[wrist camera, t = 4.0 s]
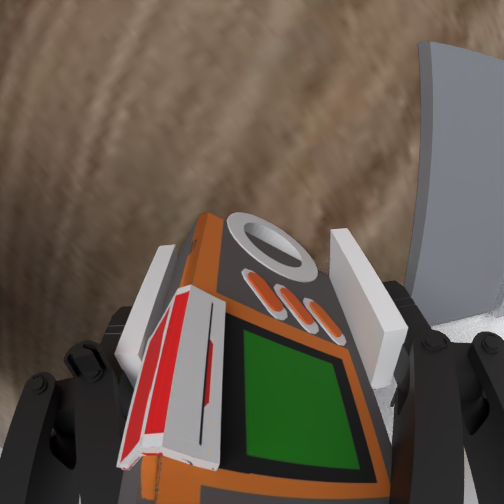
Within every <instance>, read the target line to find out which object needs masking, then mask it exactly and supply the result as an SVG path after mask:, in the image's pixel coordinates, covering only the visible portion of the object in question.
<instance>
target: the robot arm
mask: <svg viewBox="0 0 504 504" xmlns="http://www.w3.org/2000/svg"><path fill="white" fill-rule="evenodd" d="M177 259H178V254H177V250H176V245H165V246H159V247H158V250H157V252H156V254H155V256H154V259H153V261H152V263H151V265H150V268H149V270H148V272H147V274H146V277H145V279H144V281H143V284H142V286H141V288H140V291H139V293H138V295H137V298H136V300H135V303H134V305H133V306H129V307H121V308H120V309H119V310H118V311H117V312H116V313H115V314H114V315H113V316H112V319H111V321H110V323H109V327H107V330H106V332H105V335H104V336H103V339H102V341H101V343H100V345H99V344H97V343H96V342H92V341H85V342H81V343H78V344H76V345H75V346H73V347H72V348H70V349H69V351H68V352H67V353H66V354H65V357H64V362H65V364H66V365H67V367H68V369H69V370H70V372H71V373H72V375H73V376H74V378H70V379H65V380H60V381H56V380H55V378H54V377H53V376H52V375H51V374H50V373H46V372H42V373H38V374H36V375H34V376H32V377H31V378H30V379H29V380H28V381H27V383H26V384H25V386H24V389H23V391H22V394H21V396H20V399H19V402H18V405H17V407H16V410H15V413H14V416H13V419H12V422H11V425H10V428H9V431H8V434H7V437H6V440H5V443H4V447H3V450H2V454H1V457H0V504H79V495H80V497H81V504H118V500H119V494H120V488H121V483H122V477H123V472H124V470H122V469H121V468H119V467H116V466H117V461H118V456H119V452H120V447H121V443H122V438H123V434H124V429H125V425H126V421H127V417H128V413H129V409H130V405H131V401H132V397H133V393H134V389H135V385H136V381H137V378H138V374H139V370H140V366H141V363H142V359H143V356H144V352H145V349H146V345H147V342H148V339H149V338H150V336H151V335H152V334H153V332H154V330H155V328H156V327H157V325H158V321H159V318H160V314H161V311H162V308H163V304H164V301H165V298H166V294H167V291H168V288H169V284H170V281H171V278H172V275H173V272H174V268H175V265H176V262H177ZM329 278H330V280H331V283H332V285H333V287H334V290H335V292H336V295H337V297H338V300H339V302H340V305H341V307H342V310H343V312H344V315H345V317H346V320H347V323H348V325H349V328H350V330H351V333H352V336H353V338H354V341H355V344H356V346H357V349H358V352H359V354H360V357H361V360H362V363H363V365H364V368H365V371H366V374H367V376H368V379H369V382H370V385H371V387H372V389H373V390H374V389H379V388H384V387H388V386H390V385H391V382H392V379H393V376H394V377H395V380H396V382H397V385H398V386H397V388H396V391H395V394H394V396H393V399H392V401H391V405H390V407H393V406H394V422H393V436H392V466H391V484H390V498H389V504H463V502H464V448H465V451H466V455H467V458H468V462H469V465H470V469H471V473H472V477H473V481H474V485H475V489H476V493H477V498H478V503H479V504H504V340H503V339H502V338H501V337H500V336H498V335H497V334H495V333H492V332H481V333H478V334H477V335H476V336H475V337H474V339H473V341H472V343H454V342H451V341H450V339H449V338H448V337H447V336H446V335H445V334H443V333H441V332H439V331H436V330H432V329H431V327H430V326H429V324H428V322H427V321H426V319H425V318H424V316H423V314H422V313H421V311H420V310H419V308H418V307H417V305H415V302H414V301H413V299H412V298H411V296H410V295H409V293H408V292H407V290H406V289H405V287H403V286H402V285H401V284H399V283H398V282H396V281H388V282H381V280H380V279H379V277H378V275H377V274H376V272H375V271H374V269H373V267H372V266H371V264H370V263H369V261H368V260H367V258H366V256H365V255H364V253H363V252H362V250H361V249H360V247H359V245H358V244H357V242H356V241H355V239H354V238H353V236H352V235H351V233H350V232H349V230H348V229H347V228H343V229H332V230H331V240H330V272H329ZM394 403H395V404H394ZM52 429H53V430H52ZM51 432H52V433H51Z"/></svg>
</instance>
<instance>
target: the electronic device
mask: <svg viewBox="0 0 504 504" xmlns="http://www.w3.org/2000/svg"><path fill="white" fill-rule="evenodd" d="M391 466H392V446H391V443H390V440H389V437H388V434H387V431H386V428H385V425H384V422H383V419H382V416H381V413H380V410H379V407H378V404H377V401H376V398H375V395H374V392H373V389H372V387H371V385H370V382H369V379H368V376H367V374H366V371H365V368H364V365H363V363H362V360H361V357H360V354H359V352H358V349H357V346H356V344H355V341H354V338H353V336H352V333H351V330H350V328H349V325H348V323H347V320H346V317H345V315H344V312H343V310H342V307H341V305H340V302H339V300H338V297H337V295H336V292H335V290H334V287H333V285H332V283H331V280H330V278H329V276H328V275H326V274H325V273H323V272H321V271H319V270H317V267H316V265H315V263H314V261H313V259H312V258H311V256H310V255H309V254H308V253H307V252H306V250H305V249H304V248H303V247H302V246H301V245H300V244H299V243H298V242H297V241H295V240H294V239H293V238H292V237H291V236H289V235H288V234H287V233H285V232H284V231H282V230H281V229H280V228H278V227H276V226H275V225H273V224H271V223H270V222H268V221H266V220H264V219H261V218H259V217H257V216H254V215H251V214H247V213H239V212H236V213H233V214H231V215H230V216H229V217H228V219H227V220H226V221H224V220H223V219H221V218H219V217H217V216H215V215H213V214H211V213H209V212H207V213H204V214H201V215H199V217H198V219H197V221H196V222H195V224H194V226H193V228H192V230H191V231H190V233H189V235H188V237H187V239H186V240H185V242H184V244H183V246H182V248H181V250H180V253H179V256H178V259H177V262H176V265H175V268H174V272H173V275H172V278H171V281H170V284H169V288H168V291H167V294H166V298H165V301H164V304H163V308H162V311H161V314H160V318H159V321H158V325H157V327H156V328H155V330H154V332H153V334H152V335H151V336H150V338H149V339H148V342H147V345H146V349H145V352H144V356H143V359H142V363H141V366H140V370H139V374H138V378H137V381H136V385H135V389H134V393H133V397H132V401H131V405H130V409H129V413H128V417H127V421H126V425H125V429H124V434H123V438H122V443H121V447H120V452H119V456H118V461H117V466H116V467H119V468H121V469H122V470H124V472H123V477H122V483H121V488H120V494H119V500H118V504H389V498H390V484H391Z"/></svg>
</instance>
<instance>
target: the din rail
mask: <svg viewBox="0 0 504 504" xmlns="http://www.w3.org/2000/svg"><path fill="white" fill-rule="evenodd" d="M491 312H492V313H493V314H494V316H495V317H496V318H498V317H501V316H504V276H503V279H502V282H501V285H500V288H499V291H498V294H497V297H496V299H495V302H494V305H493V307H492V310H491Z"/></svg>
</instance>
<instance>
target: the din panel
mask: <svg viewBox="0 0 504 504" xmlns="http://www.w3.org/2000/svg"><path fill="white" fill-rule="evenodd" d="M418 49H419V63H420V86H421V137H420V160H419V176H418V188H417V199H416V208H415V217H414V225H413V233H412V240H411V247H410V253H409V259H408V265H407V271H406V276H405V282H404V287H405V289H406V290H407V292H408V293H409V295H410V296H411V298H412V299H413V301H414V302H415V305H417V307H418V308H419V310H420V311H421V313H422V314H423V316H424V318H425V319H426V321H427V322H428V324H429V326H433V325H438V324H442V323H447V322H451V321H455V320H459V319H463V318H467V317H471V316H475V315H479V314H483V313H487V312H490V311H491V310H492V307H493V305H494V302H495V299H496V297H497V294H498V291H499V288H500V285H501V282H502V279H503V276H504V60H501V59H498V58H495V57H491V56H488V55H485V54H481V53H478V52H474V51H471V50H467V49H463V48H459V47H455V46H451V45H446V44H442V43H437V42H432V41H427V42H420V43H418Z"/></svg>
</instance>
